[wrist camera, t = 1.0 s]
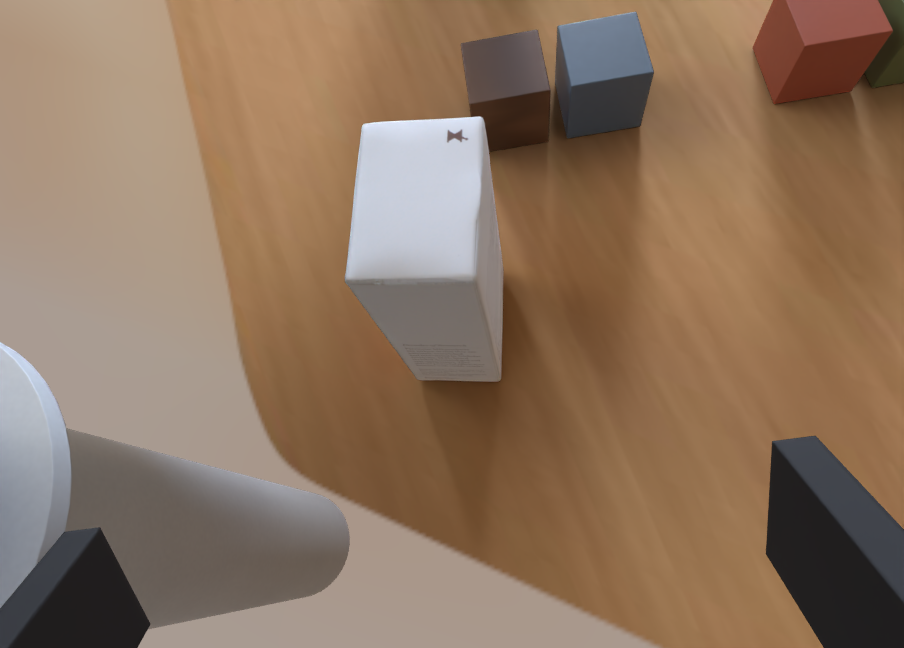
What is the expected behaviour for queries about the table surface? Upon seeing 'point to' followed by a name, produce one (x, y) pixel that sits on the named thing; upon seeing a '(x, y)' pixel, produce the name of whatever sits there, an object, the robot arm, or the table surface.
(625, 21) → the block
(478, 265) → the cosmetic box
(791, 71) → the block
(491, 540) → the table surface
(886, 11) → the block
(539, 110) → the block
